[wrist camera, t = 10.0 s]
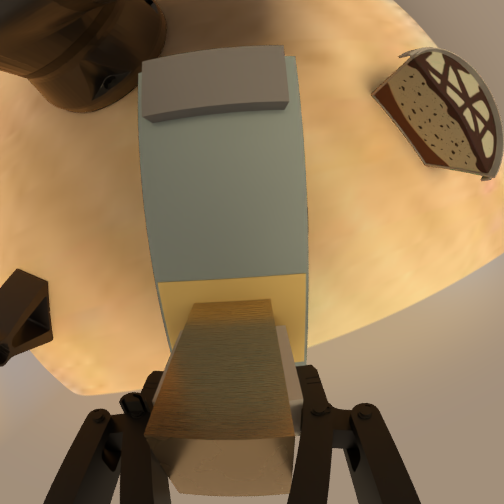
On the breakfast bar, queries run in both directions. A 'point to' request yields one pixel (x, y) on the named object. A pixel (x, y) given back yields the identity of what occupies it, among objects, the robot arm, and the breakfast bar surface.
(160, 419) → the wooden block
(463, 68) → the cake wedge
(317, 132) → the breakfast bar surface
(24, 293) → the phone stand
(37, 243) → the breakfast bar surface
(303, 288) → the beam
